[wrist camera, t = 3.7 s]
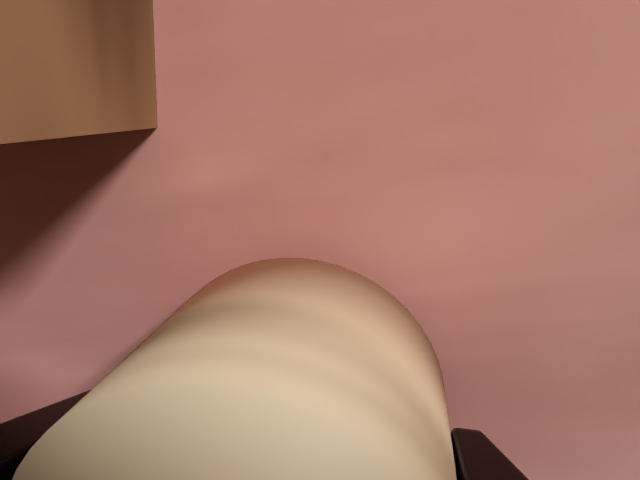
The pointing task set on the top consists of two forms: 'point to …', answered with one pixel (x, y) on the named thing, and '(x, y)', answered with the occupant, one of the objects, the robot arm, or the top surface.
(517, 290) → the top surface
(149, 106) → the walnut slab
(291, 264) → the birch puck
